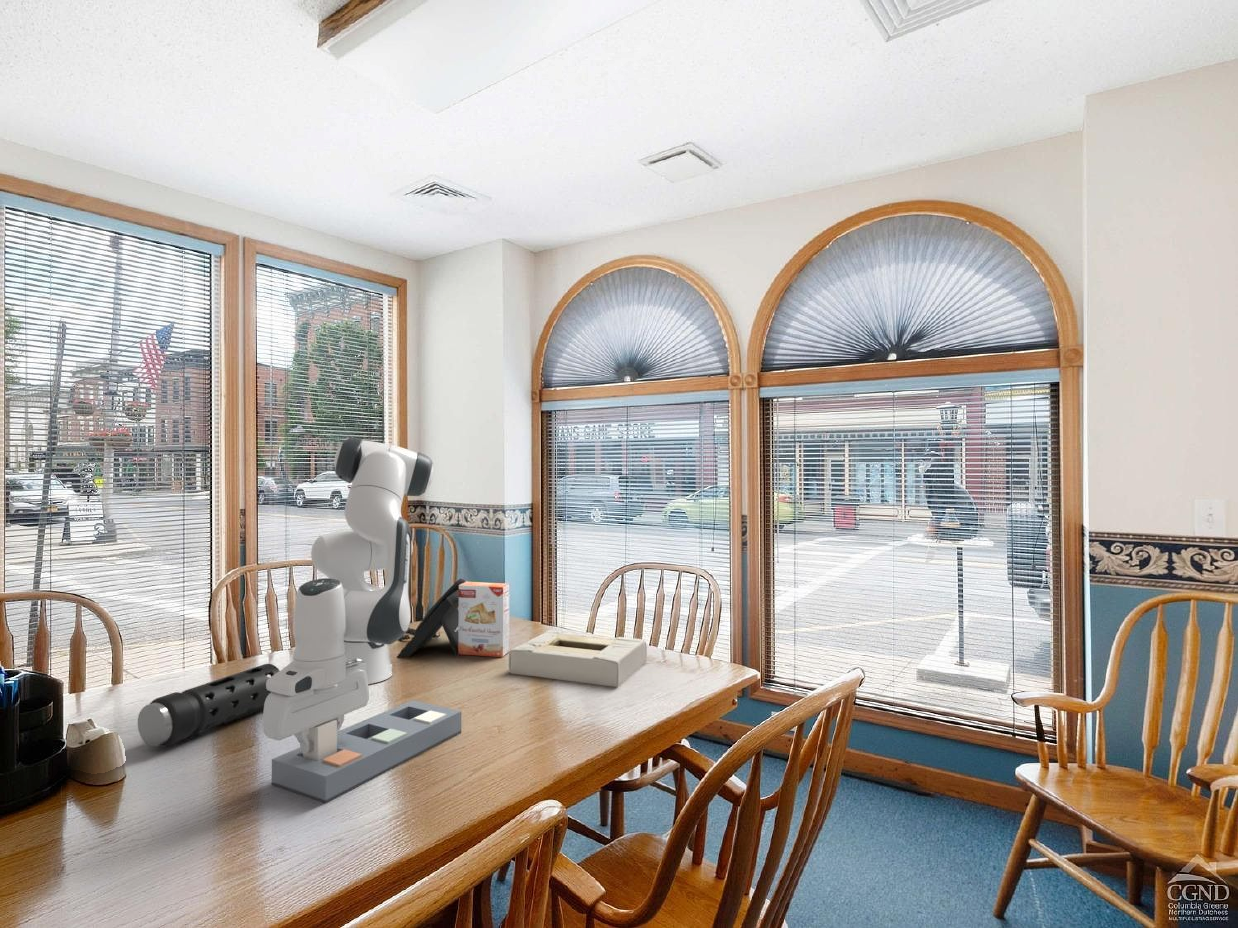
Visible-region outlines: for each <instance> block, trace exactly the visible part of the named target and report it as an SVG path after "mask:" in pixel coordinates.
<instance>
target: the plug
mask: <svg viewBox="0 0 1238 928" xmlns="http://www.w3.org/2000/svg"><path fill="white" fill-rule="evenodd" d="M306 737H307V739H308V740H310V741H313V742H314V746H313V747H314V750H313V751H311V752H309V753H307V754H304V753H303V757H304V758H307V759H311V760H314V761H319V760H321V759H324V758H326V757H328V756H330V755H332V754H335V753H337V720H333V719H332V720H330V721H327V722H325V723H322V724H320V725H317V726H315V727H312V728H310V729H309V734H308V735H306Z"/></svg>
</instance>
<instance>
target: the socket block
mask: <svg viewBox="0 0 1238 928" xmlns="http://www.w3.org/2000/svg"><path fill="white" fill-rule="evenodd" d="M461 733H462V710H457V709H453V708H449V707H445V706H440V705H436V704H431V703H427V702H422V701H418V700H413V699H411V700H409V701H407V702H404V703H402V704H400V705H397V706H395V707H393V708H390V709H387V710H385V711H383V712H381V713H379V714H376V715H374V716H371V717H369V718H366V719H364V720H363V721H360V722H357V723H354V724H353V725H350V726H347V727H345V728H343V729H340V730H339V739H338V740H337V753H335V754H332V755H330V756H328V757H326V758H324V759H321V760H319V761H314V760H311V759H307V758H304V757H303V753H301V752H300V747H298V748H295V749H293V750H291V751H288V752H286V753H283V754H281V755H279V756H276V757H273V758H272V759H271V785H272V786H275V787H277V788H280V789H283V790H287V791H289V792H292V793H295V794H298V795H301V796H304V797H306V798H309V799H312V800H316V801H318V802H320V803H324V804H327V803H329V802H331V801H333V800H335V799H337V798H339V797H340V796H342V795H344V794H346V793H349V792H351V791H352V790H354V789H356V788H358V787H360V786H362V785H364V784H366V783H368V782H370V781H371V780H373V779H375V778H377V777H379V776H381V775H383V774H385V773H386V772H389V771H390V770H392V769H395V768H396V767H398V766H400V765H402V764H404V763H406V762H407V761H411V759H413V758H416V757H418V756H419V755H421V754H423V753H425V752H426V751H428V750H429V751H430V749H433V748H434V747H436V746H438V745H440V744H442V743H444V742H446V741H448V740H450V739H451V738H453V737H456V736H457V735H460V734H461Z"/></svg>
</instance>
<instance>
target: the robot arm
mask: <svg viewBox="0 0 1238 928" xmlns="http://www.w3.org/2000/svg"><path fill="white" fill-rule="evenodd" d="M333 462H334V463H333V465H334V469H335V470H334V474H336V476H337V477H338V478H339V479H340V480H341V481H343V482H346V483H347V484H351V486H350V489H349V492H348V495H347V497H346V501H345V507H344V516H345V520H346V522H347V525H348V527H350V529H351V530H338V531H334V532H330V533H329V532H328V533H325V534H322V535H319V536H318V537H317V538H316V539H315V541H314V542H313V545H312V547H311V551H310V553H311V554H310V556H311V561H312V564H313V565H314V567H315V568H316V569H317V570H318V571H319V572H320V573H322V574H323V575H325V576H326V577H324V578H318V579H313V580H309V581H306V582H304V583H303V584H302V585H300V586H299V587H298V589H297V591H296V594H295V600H294V606H293V614H292V615H293V617H292V618H293V620H292V634H293V638H294V643H295V644H294V645H295V646H294V650H293V653H292V654H293V655H292V662H290V663H289V664H287V665H286V666H285V667H284V668H282V669H281V670H280V671H279V672H278V673H276V674H275V675H273V676H272V677H271V676H270V678H269V679H268V680H267V682H266V689H267V690H268V691H271V693H270V694H269V695H268V696H267V698H266V700H265V703H264V709H263V712H262V713H263V714H262V732H263V734H264V735H265V736H266V737H267V738H268V739H271V740H274V741H281V740H284V739H287V738H289V737H292V736H294V737H295V739H296V740H297V741H298V743H299V748H300V752H301V753H304V754H307V753H309V752H311V751H313V750H314V747H313V746H314V742H313V741H310V740H308V739H307V737H306V735H308V734H309V729H310V728H312V727H315V726H317V725H320V724H322V723H325V722H327V721H330V720H332V719H333V720H337V740H338V739H339V731H340V730H341V728H342V725H343V723H344V721H345V715H347V714H350V713H352V712H354V711H357V710H359V709H363V708H364V707H366V706H367V705H368V702H369V701H370V688H369V687H370V686H369V685H372V684H375V683H379V682H382V681H385V680H387V679H389V678H391V677H392V676H393V671H392V670H393V664H392V663H391V658H390V650H389V646H391V645H392V644H394V643H396V642H397V641H398V640H400V638H401V637H402V636H403V635H406V633H408V632H407V631H408V629H409V628H410V625H411V619H412V618H411V617H412V616H411V614H412V613H411V612H412V610H411V595H410V594H411V592H410V590H411V574H412V573H411V572H412V555H413V549H414V544H413V540H412V531H411V527H410V526H411V525H410V524H409V522H408V520H407V519H406V518H403V517H402V505H403V502H404V496H405V495H406V497H420V496H422V495H424V494H425V493H426V491H427V490H428V489H429V487H430V486H431V484H432V482H433V480H434V466H433V463H434V462H433V461H432V459H431V458H430V457H429V456H428V455H426V454H424V453H421V452H419V451H418V452H415V451H413V450H411V449H407V448H404V447H402V446H398V445H394V444H387V443H383V442H377V441H371V440H363V438H359V437H358V438H357V437H356V438H355V437H350V438H348V439H345V440H344V441H343V442H342V444H341V445H340V446H339V447H338V448H337V451H336V453H335V456H334V459H333ZM381 570H385V581H384V586H383V588H380V587H379V586H377V585H374V584H372V583H369V582H366V580H365V579H366V578H365V572H370V571H381Z"/></svg>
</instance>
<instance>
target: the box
mask: <svg viewBox="0 0 1238 928" xmlns="http://www.w3.org/2000/svg"><path fill="white" fill-rule="evenodd" d="M647 649H648V647H647V642H646V640H645V639H642V638H632V637H622V636H617V637H610V636H603V635H602V636H600V635H593V634H584V633H583V634H582V633H574V632H572V633H571V632H564V631H563V630H553V629H548V630H545V632H543V633H542V634H540V635H537V636H536V637H533V638H531V639H530V640H527V641H526V642H524V643H521V644H520V645H518V646H514V647H513V648H511V649H509V652H508V671H509V674H513V675H523V676H531V677H538V678H544V679H545V678H546V679H554V680H562V681H569V682H577V683H585V684H592V685H599V686H605V687H606V686H608V687H615V688H618V687H620V685H622V684H623V683H624V682H625V681H626V680H627V679H629V678H630V677H632V675H633V674H634V673H635V672H637V671H638V670H640V668H641V667H642V666H643V665H645V664H647V653H648V652H647Z"/></svg>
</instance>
